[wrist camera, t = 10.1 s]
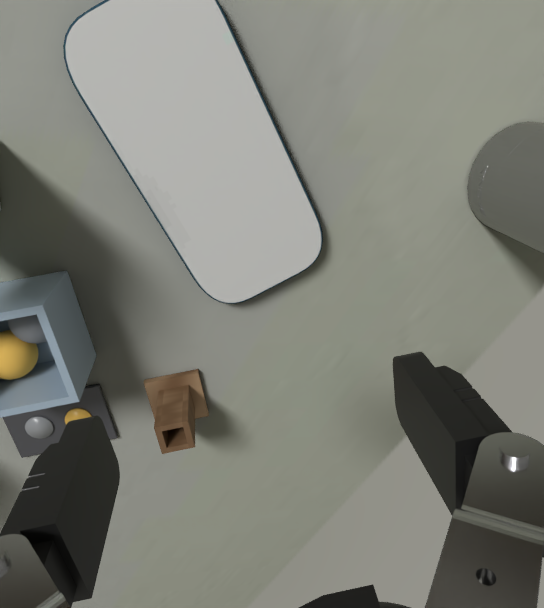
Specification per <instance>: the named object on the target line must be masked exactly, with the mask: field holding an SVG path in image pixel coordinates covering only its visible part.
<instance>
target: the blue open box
mask: <svg viewBox="0 0 544 608" xmlns="http://www.w3.org/2000/svg"><path fill="white" fill-rule="evenodd" d="M36 314H37V317H38V319H39V322H40V324H41V327H42V329H43V332H44V334H45V337H46V340H47V341H46V342H43V343H36V345H37V347H38V360H37V363H36V365H35V366H34V368H33V369H32V370H31V371H30V372H29V373H28V374H26V375H25V376H23V377H20V378H17V379H11V380H7V379H1V378H0V418H1V417H6V416H11V415H16V414H21V413H26V412H31V411H36V410H41V409H46V408H51V407H56V406H61V405H66V404H71V403H76V402H80V399H81V396H82V393H83V391H84V388H85V385H86V383H87V380H88V377H89V375H90V372H91V369H92V367H93V364H94V361H95V359H96V356H97V355H96V352H95V350H94V347H93V344H92V341H91V338H90V335H89V332H88V329H87V326H86V324H85V321H84V318H83V315H82V312H81V309H80V306H79V303H78V301H77V298H76V295H75V292H74V289H73V286H72V283H71V280H70V277H69V275H68V272H67V271H61V272H56V273H50V274H45V275H39V276H34V277H28V278H23V279H17V280H12V281H6V282H1V283H0V332H2V331H6V330H10V328H9V325H8V320H10V319H15V318H20V317H26V316H31V315H36Z"/></svg>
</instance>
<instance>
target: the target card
mask: <svg viewBox="0 0 544 608" xmlns="http://www.w3.org/2000/svg"><path fill="white" fill-rule="evenodd" d="M93 416H99V417H100V418H101V419H102V421H103V423H104V426H105V429H106V431H107V434H108V437H109V439H114V438H117V436H118V435H117V432H116V429H115V427H114V424H113V421H112V418H111V415H110V412H109V410H108V407H107V404H106V401H105V398H104V396H103V393H102V390H101V387H100V384H97V385H92V386H87V387H85V388H84V391H83V393H82V396H81V399H80V402H76V403H71V404H66V405H61V406H56V407H51V408H46V409H41V410H36V411H31V412H26V413H21V414H16V415H11V416H6V417H3V419H4V421H5V424H6V426H7V428H8V430H9V432H10V434H11V436H12V438H13V440H14V443H15V445H16V447H17V449H18V451H19V453H20V455H21V457H22V458H23V457H27V456H32V455H37V454H42V453H43V452H44V451H45V450H46V449H47V447H48V446H49V445H50V444H54V443H59V440H60V438H61V436H62V433H63V431H64V429H65V427H66V425H67V423H68V422H69V421H73V420H78V419H83V418H88V417H93Z"/></svg>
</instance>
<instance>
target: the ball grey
mask: <svg viewBox="0 0 544 608" xmlns="http://www.w3.org/2000/svg"><path fill="white" fill-rule="evenodd" d="M8 325H9V328H10V330H11V331H12V333H13V334H14V335H15V336H16V337H17V338H19V339H20V340H22V341H24V342H27V343H43V342H46V341H47V340H46V337H45V334H44V332H43V329H42V327H41V324H40V322H39V319H38V317H37V314H36V315H31V316H26V317H20V318H15V319H10V320H8Z"/></svg>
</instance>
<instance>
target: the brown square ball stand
mask: <svg viewBox="0 0 544 608" xmlns="http://www.w3.org/2000/svg"><path fill="white" fill-rule="evenodd" d="M144 386H145V389H146V392H147V395H148V399H149V402H150V405H151V408H152V412H153V415H154V418H155V424H154V429H155V432H156V436H157V439H158V442H159V445H160V449H161V452H162V454H164V453H169V452H174V451H178V450H183V449H188V448H193V447H195V419H196V418H201V417H206V416H209V412H208V408H207V404H206V399H205V395H204V391H203V387H202V383H201V379H200V375H199V371H198V369H196V370H191V371H186V372H181V373H176V374H171V375H166V376H161V377H156V378H151V379H146V380H144Z"/></svg>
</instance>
